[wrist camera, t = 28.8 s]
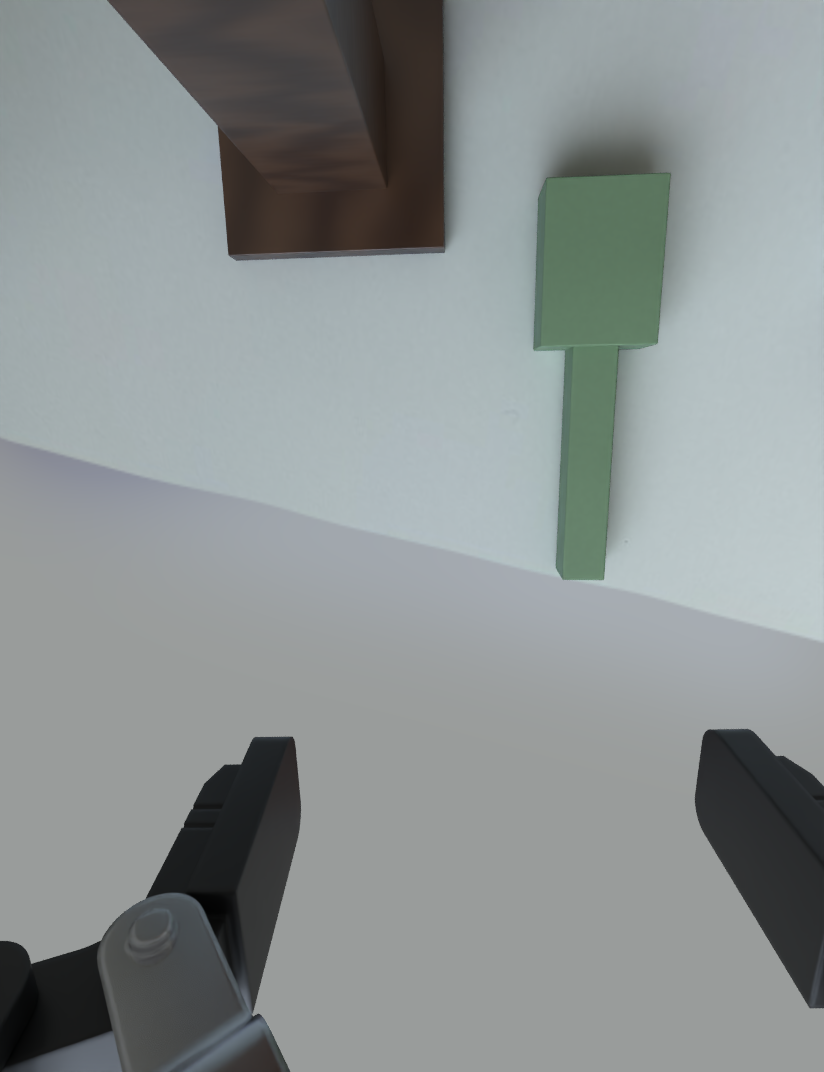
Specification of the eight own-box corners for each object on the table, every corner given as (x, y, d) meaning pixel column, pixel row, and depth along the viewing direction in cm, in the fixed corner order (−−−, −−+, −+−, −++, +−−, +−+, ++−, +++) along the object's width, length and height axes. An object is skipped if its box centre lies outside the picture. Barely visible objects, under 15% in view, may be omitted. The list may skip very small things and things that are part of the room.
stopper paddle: (526, 568, 37) (532, 583, 34) (538, 197, 32) (546, 177, 29) (624, 569, 36) (639, 584, 33) (651, 192, 32) (671, 171, 29)
